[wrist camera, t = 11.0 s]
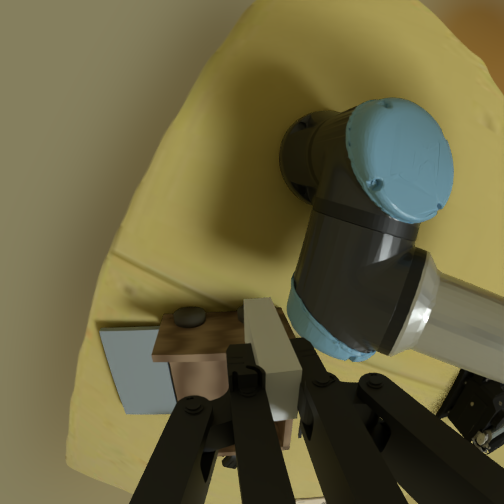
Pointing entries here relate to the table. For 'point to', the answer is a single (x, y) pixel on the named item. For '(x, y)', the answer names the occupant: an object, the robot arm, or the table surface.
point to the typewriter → (476, 410)
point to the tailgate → (138, 370)
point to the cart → (207, 355)
